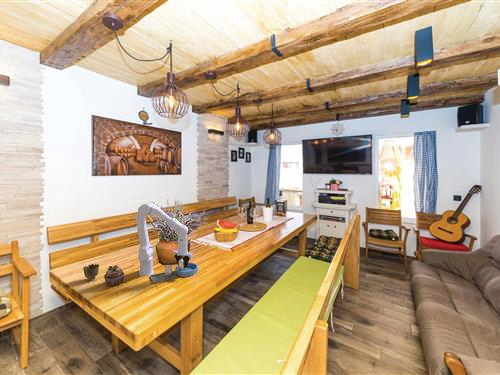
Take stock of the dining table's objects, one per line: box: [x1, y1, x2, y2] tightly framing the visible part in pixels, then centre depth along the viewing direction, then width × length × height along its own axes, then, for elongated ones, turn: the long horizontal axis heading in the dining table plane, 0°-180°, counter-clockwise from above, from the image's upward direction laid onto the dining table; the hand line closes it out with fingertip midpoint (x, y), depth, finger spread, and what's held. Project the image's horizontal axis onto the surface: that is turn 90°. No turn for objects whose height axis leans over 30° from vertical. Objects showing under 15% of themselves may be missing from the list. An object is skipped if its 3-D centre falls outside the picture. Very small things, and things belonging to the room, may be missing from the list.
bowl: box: [174, 262, 199, 278], centre depth 140 cm, size 14×14×4 cm
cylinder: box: [164, 264, 173, 277], centre depth 134 cm, size 4×4×6 cm
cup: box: [82, 263, 100, 281], centre depth 127 cm, size 8×7×8 cm
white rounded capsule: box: [179, 259, 186, 271], centre depth 138 cm, size 4×4×6 cm
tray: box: [149, 270, 178, 285], centre depth 131 cm, size 10×13×1 cm
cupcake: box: [103, 265, 125, 288], centre depth 124 cm, size 10×10×10 cm
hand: (182, 266), depth 138 cm, fingers closed on white rounded capsule, 4 cm apart
